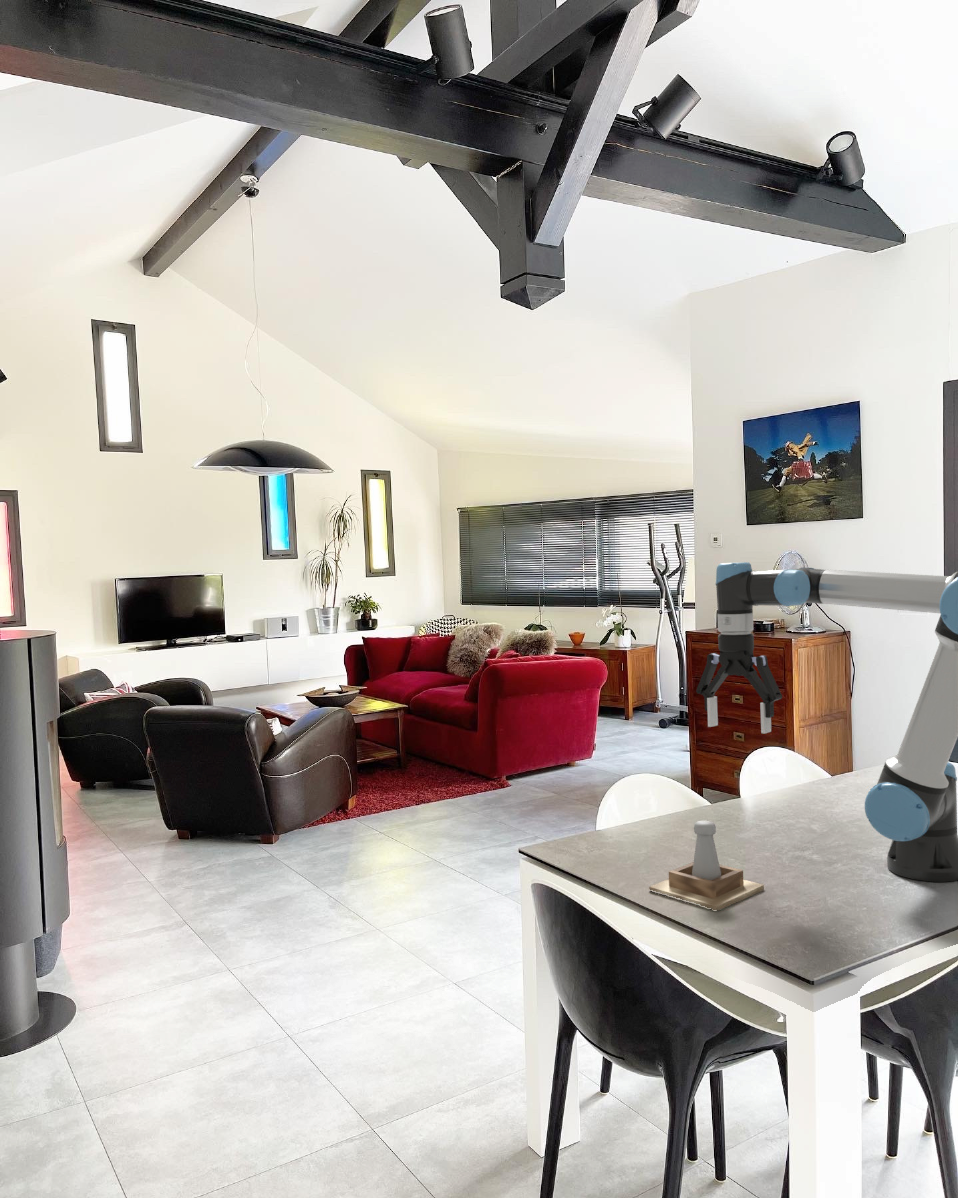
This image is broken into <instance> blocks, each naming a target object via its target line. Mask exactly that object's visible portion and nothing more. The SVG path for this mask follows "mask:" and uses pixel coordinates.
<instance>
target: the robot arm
mask: <svg viewBox="0 0 958 1198" xmlns="http://www.w3.org/2000/svg"><path fill="white" fill-rule="evenodd" d="M715 569H716V572H715V573H716V574H715V577H716V578H715V586H716V601H717V602H716V604H717V607H716V608H717V611H716V612H717V613H716V614H717V631H718V632H719V633H720V634H718V636H717V641H718V643H717V645H718V650H719V654H718V653H717V652H713V653H709V654H707V656H706V664H705V667H704V670H703V672H702V675H701V678H700V680H699V683H698V684H697V687H696V690H695V692H696V694H698V695H701V696H703V698H704V699H703V700H704V710H705V712H707V728H711V727H717V726H719V718H718V717H719V716H718V715H719V714H718V696H716V694H715V693H716V692H717V691H718V690H719V688H720V686H721V685H723V683H724V681H725V680H726V678H727V677H729V676H737V677H741V676H742V677H744V678H745V679H747V681H748V682H749V684H750V685H751V687H753V689H754V690H755V692H756V694H758V696H759V697H760V699H762V702H760V703H759V704H760V706H759V707H760V729H761V730H760V732H761V734H768V733H771V732H772V718H773V717H774V716H775V707H774V706H775V704H774V703H775V702H776V701H779V700H781V699H782V698H783V694H782V693H781V690H780V688H779V685H778V684H777V682H776V679H775V677H774V676H773V673H772V671H771V668H770V666H769V663H768V657H767V656H766V655H760V656H759V655H758V656H754V649H755V643H754V642H755V638H754V634H753V633H752V632H753V631H754V611H753V607H755V606H756V607H757V606H773V607H774V606H777V607H778V606H779V607H780V606H782V607H783V606H784V607H794V606H802V605H804V604H805V603H807V604H821V605H822V604H825V605H834V606H835V605H837V606H848V607H856V608H857V607H859V608H870V609H883V610H896V611H906V612H907V611H909V612H919V613H932V614H940V616H939V618H938V621H937V624H936V627H935V629H934V633H935V635H936V636H937V639H938V642H939V644H938V646H937V649H936V652H935V654H934V656H933V657H934V658H933V659H932V663H931V665H930V668H929V670H928V673H927V676H926V678H925V681H924V683H923V686H922V688H921V692H920V693H919V697H918V700H917V703H916V704H915V707H914V709H913V713H912V714H911V718H910V720H909V722H908V726H907V728H906V731H905V734H904V735H903V739H902V741H901V745H900V747H899V750H898V752H897V754H896V755H894V756H891V757H888V758H886V760H885V762H884V765H883V768H882V770H881V772H880V774H879V778H878V780H877V782H876V784H875V785H874V786H872V788H870V789H869V791H868V793H867V795H866V797H865V800H864V813H865V815H866V818H867V820H868V822H869V823H870V825H871V827H872V828H873V829H874V830H875V831H876V832H877V833H878V834H880V835H881V836H883V837H885V838H887V839H889V840H891V843H890V845H889V849H888V852H887V857H886V864H887V865H886V867H887V869H888V870H889V871H890V872H892V873H893V874H895V875H898V876H900V877H902V878H903V877H904V878H906V879H912V880H917V881H923V882H934V883H935V882H938V883H942V882H943V883H946V882H955V881H958V806H957V805H958V804H957V802H958V799H957V795H958V794H957V781H958V777H957V772H956V767H955V765H954V764H952V762H949V761H950V760H949V759H950V758H951V755H952V752H953V750H954V747H955V745H956V743H957V740H958V571H956V572H953V573H952V575H950V576H949V575H933V574H931V575H929V574H912V573H896V572H895V573H894V572H891V573H890V572H876V571H859V570H858V571H857V570H837V569H820V568H814V567H800V568H789V569H778V570H777V569H776V570H775V569H774V570H753V568H752V564H751V563H750V562H745V561H744V562H724V563H723V562H721V563H719V564H718V565H717V566H716V568H715ZM719 663H720V665H721V666H720V668H718V670H717V672H716V669H717V666H718V664H719ZM754 665H755V666H756V668H757V670H756V669H755V667H754ZM715 672H716V674H715ZM758 673H759V674H758ZM714 674H715V676H714ZM713 677H714V678H713Z"/></svg>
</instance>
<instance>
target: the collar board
mask: <svg viewBox="0 0 958 1198" xmlns="http://www.w3.org/2000/svg"><path fill="white" fill-rule="evenodd" d="M693 862H694V861H692V862H690V863H688V864H685V865H682V866H679V867H677V868H675V869H674V868H673V869H672V870H669V871H668V879H665V880H663V881H660V882H657V883H655V884H652V885H651V886H648V887H649V889H650V890H653V891H656V892H660V893H662V894H667V895H669V896H673V897H676V898H680V899H682V900H686V901H689V902H694V903H696V904H700V905H701V906H705V907H707V908H711V909H713V910H719V911H721V910H723V909H722V908H724V909H725V907H726V908H727V906H728V907H730V906H732V905H734V904H736V902H737V903H740V901H743V900H745V899H747V898H749V897H751V896H753V895H756V894H758V893H761V892H763V891H764V890H765V885H764V884H761V883H759V882H754V881H752V880H751V881H750V880H747V879H744V870H743V869H739V868H735V867H731V866H728V865H723V864H720V863H719V866H720V870H721V876H720V877H718V878H716V879H713V880H711V881H710V880H706V879H703V878H699V877H695V876H692V869H693ZM649 889H648V890H649ZM731 904H732V905H731ZM720 909H721V910H720Z"/></svg>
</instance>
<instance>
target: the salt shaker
mask: <svg viewBox="0 0 958 1198" xmlns="http://www.w3.org/2000/svg"><path fill="white" fill-rule="evenodd" d="M693 832H694V834H696V842H695V849H694V856H693V861H692V862H693V869H692V876H695V877H699V878H703V879H706V880H710V881H711V880H713V879H716V878H718V877H720V876H721V870H720V866H719V864H720V862H719V858H718V857H719V856H718V854H717V852H718V851H717V848H716V843H715V839H714V835H715V834H716V832H717V828H716V823H714V822H713V821H711V820H705V819H704V820H697V821H696V822H694V825H693Z"/></svg>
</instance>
